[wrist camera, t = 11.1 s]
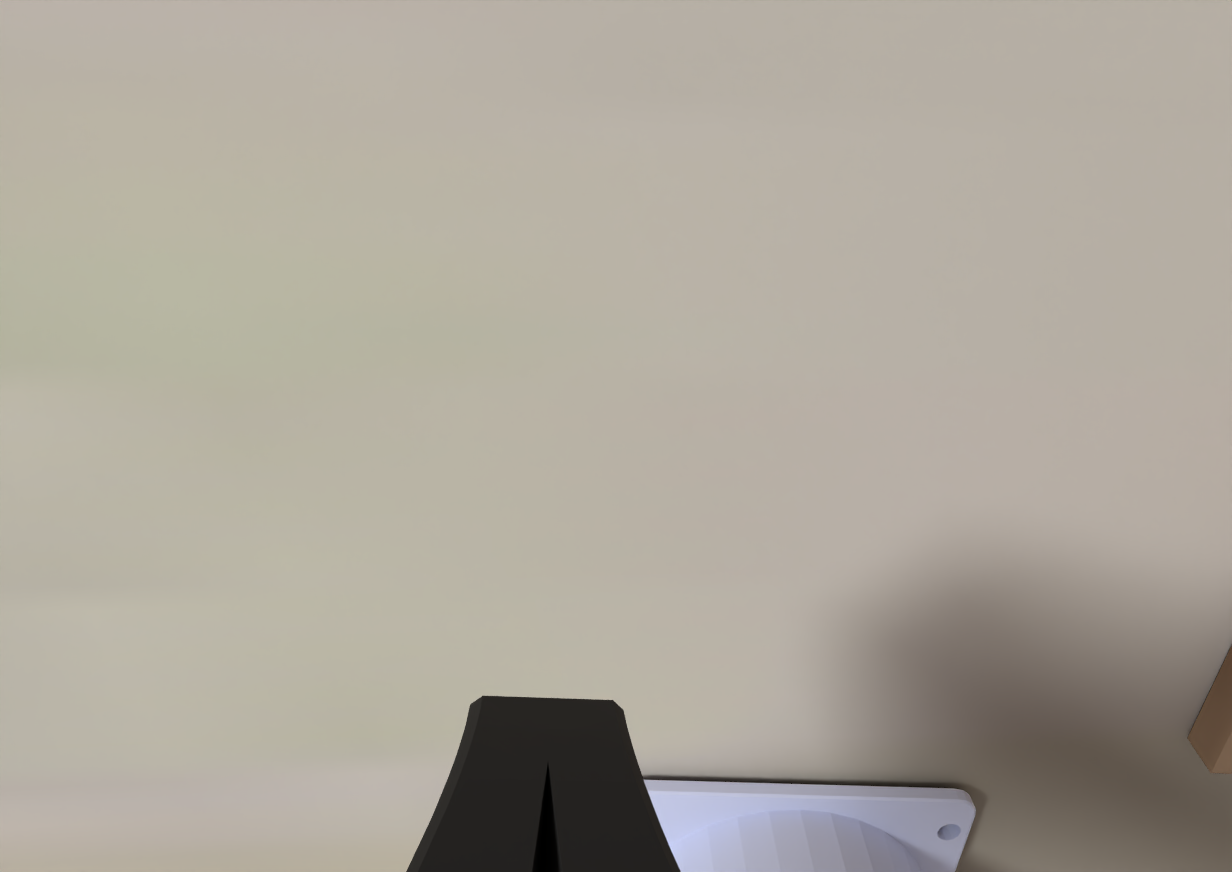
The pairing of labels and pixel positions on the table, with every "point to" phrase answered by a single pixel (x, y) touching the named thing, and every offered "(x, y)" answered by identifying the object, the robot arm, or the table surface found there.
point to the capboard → (1216, 723)
